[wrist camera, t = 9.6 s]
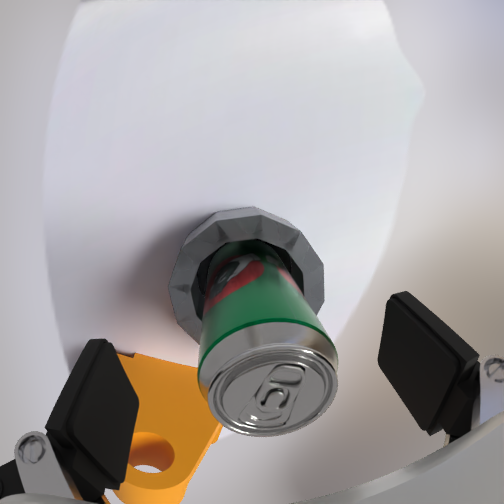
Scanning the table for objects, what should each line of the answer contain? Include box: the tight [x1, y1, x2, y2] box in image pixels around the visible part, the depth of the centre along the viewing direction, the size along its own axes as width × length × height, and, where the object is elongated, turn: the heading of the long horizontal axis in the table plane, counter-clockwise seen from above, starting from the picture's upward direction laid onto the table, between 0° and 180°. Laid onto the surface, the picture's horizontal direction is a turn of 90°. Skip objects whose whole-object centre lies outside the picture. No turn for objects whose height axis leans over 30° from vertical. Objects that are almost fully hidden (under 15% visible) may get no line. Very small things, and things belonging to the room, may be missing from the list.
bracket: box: [112, 353, 223, 504], centre depth 16 cm, size 11×7×12 cm
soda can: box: [197, 239, 338, 437], centre depth 14 cm, size 5×5×12 cm
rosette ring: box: [168, 207, 324, 345], centre depth 18 cm, size 9×9×4 cm
